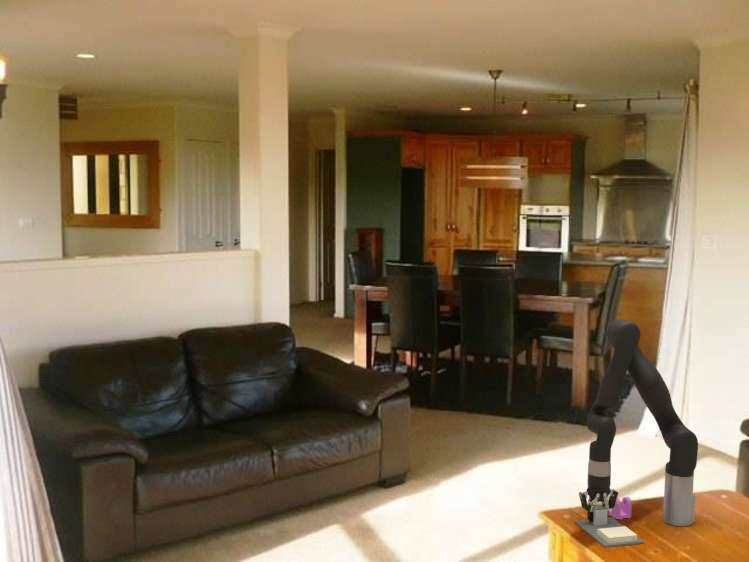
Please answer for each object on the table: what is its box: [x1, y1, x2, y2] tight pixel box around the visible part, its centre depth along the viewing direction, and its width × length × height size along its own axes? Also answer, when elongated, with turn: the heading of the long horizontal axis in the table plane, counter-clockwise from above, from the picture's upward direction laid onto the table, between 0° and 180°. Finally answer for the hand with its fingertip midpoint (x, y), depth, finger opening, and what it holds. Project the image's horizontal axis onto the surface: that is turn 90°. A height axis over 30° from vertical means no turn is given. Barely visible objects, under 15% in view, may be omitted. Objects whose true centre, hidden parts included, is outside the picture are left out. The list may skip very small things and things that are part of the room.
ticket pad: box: [574, 516, 645, 548], centre depth 284 cm, size 14×21×3 cm, turn 14°
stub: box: [591, 503, 609, 526], centre depth 290 cm, size 4×5×6 cm
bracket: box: [599, 496, 633, 520], centre depth 302 cm, size 13×6×7 cm, turn 17°
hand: (597, 520), depth 291 cm, fingers closed on stub, 4 cm apart
